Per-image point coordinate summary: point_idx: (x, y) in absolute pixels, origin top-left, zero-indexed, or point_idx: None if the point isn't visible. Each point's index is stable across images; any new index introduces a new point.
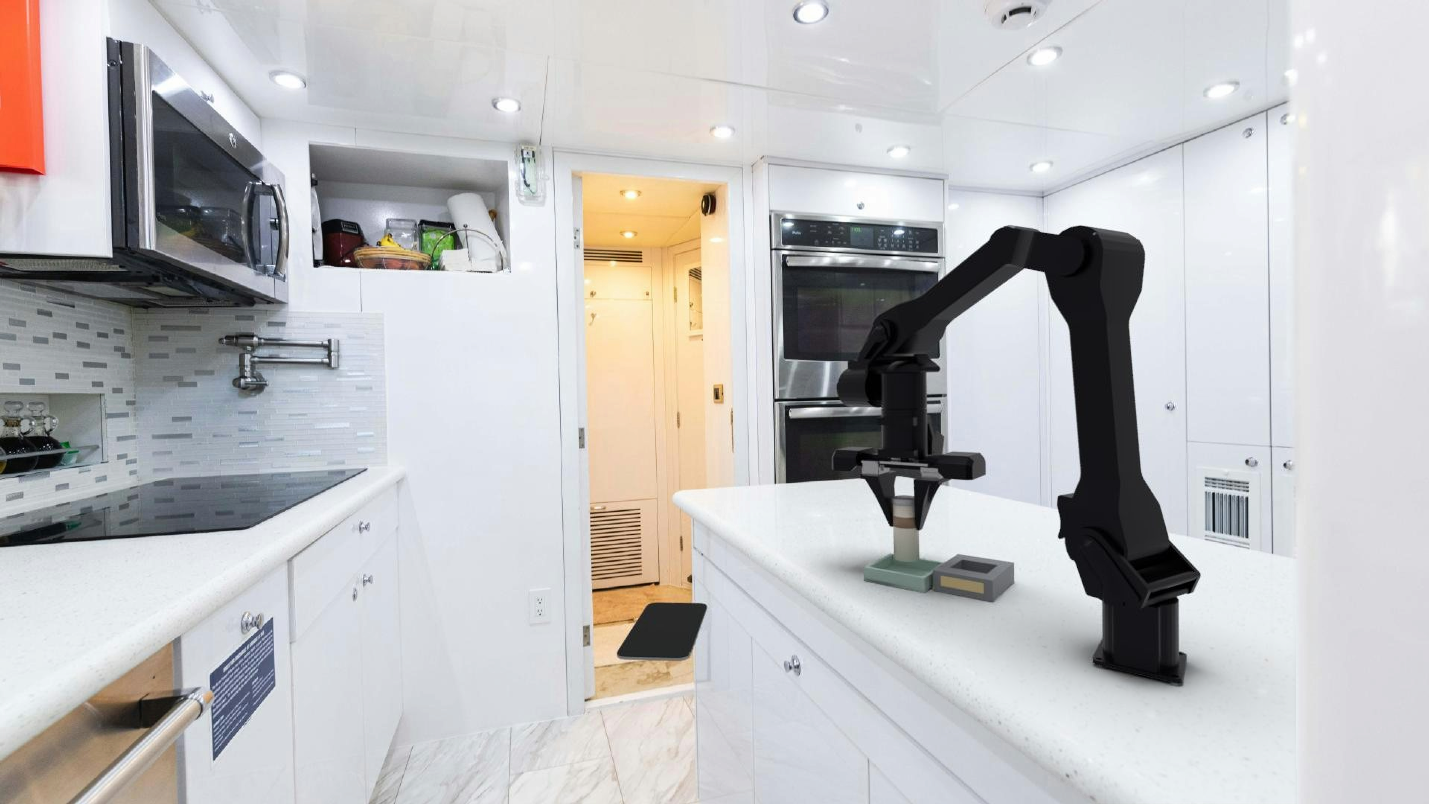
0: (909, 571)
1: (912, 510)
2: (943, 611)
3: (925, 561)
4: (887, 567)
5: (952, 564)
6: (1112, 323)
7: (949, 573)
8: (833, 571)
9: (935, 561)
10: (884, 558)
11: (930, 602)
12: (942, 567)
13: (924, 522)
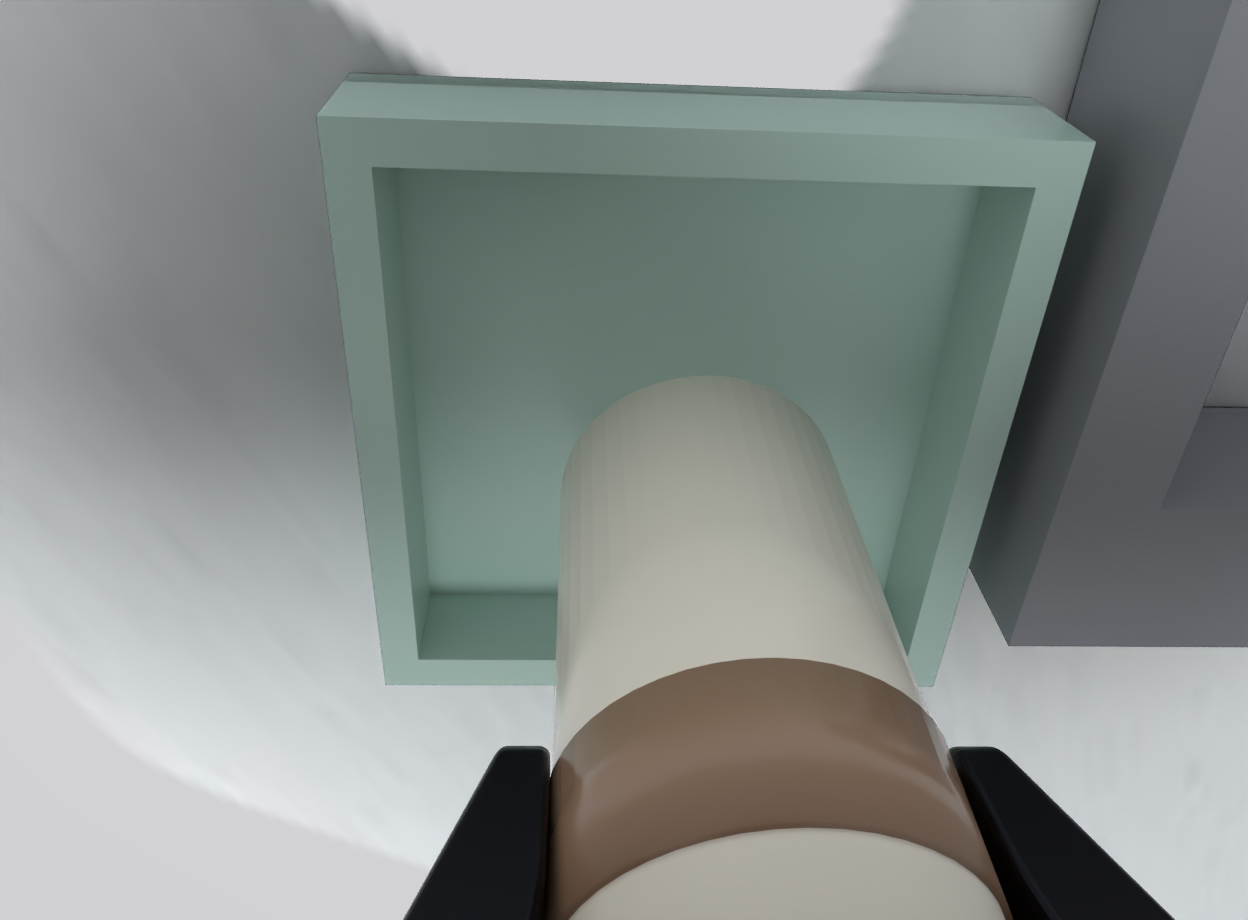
0: (657, 263)
1: None
2: (1058, 788)
3: (823, 179)
4: (404, 257)
5: (1185, 405)
6: None
7: (1154, 644)
8: (37, 524)
9: (947, 162)
10: (388, 368)
11: (968, 717)
12: (1087, 544)
13: (1068, 827)
